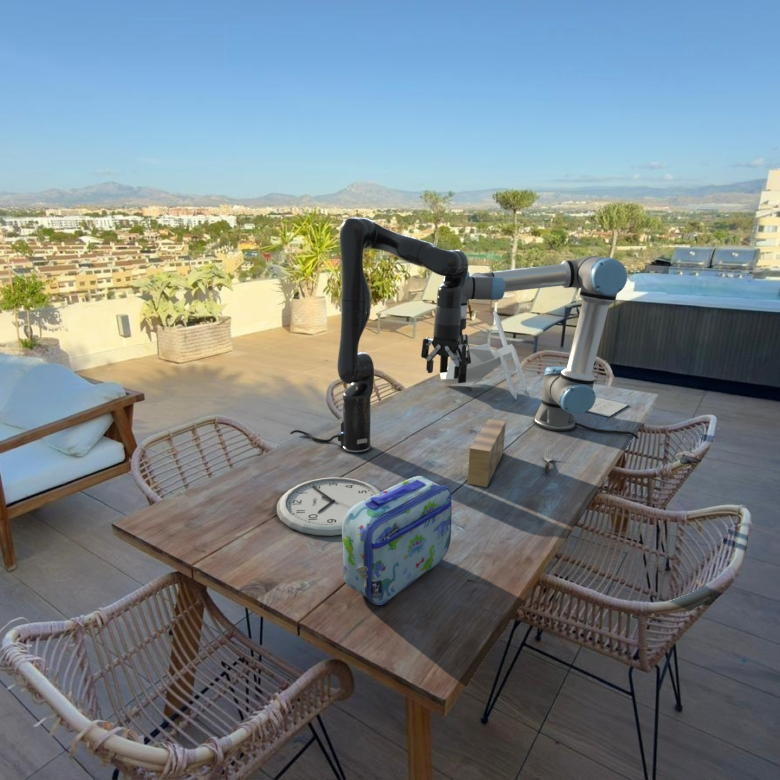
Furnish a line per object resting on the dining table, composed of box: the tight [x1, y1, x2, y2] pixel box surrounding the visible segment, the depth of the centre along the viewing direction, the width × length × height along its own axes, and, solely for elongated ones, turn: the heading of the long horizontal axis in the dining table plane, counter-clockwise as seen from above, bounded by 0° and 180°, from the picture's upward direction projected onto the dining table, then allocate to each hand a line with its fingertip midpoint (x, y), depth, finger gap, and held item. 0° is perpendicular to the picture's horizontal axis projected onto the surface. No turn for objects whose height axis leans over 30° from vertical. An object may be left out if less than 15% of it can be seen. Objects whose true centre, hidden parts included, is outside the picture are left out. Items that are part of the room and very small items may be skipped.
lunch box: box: [341, 475, 453, 606], centre depth 111 cm, size 26×11×21 cm, turn 134°
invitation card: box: [587, 396, 629, 418], centre depth 226 cm, size 21×1×15 cm
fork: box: [544, 449, 554, 474], centre depth 169 cm, size 3×16×2 cm, turn 160°
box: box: [466, 418, 507, 488], centre depth 165 cm, size 27×6×12 cm, turn 158°
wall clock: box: [276, 476, 382, 537], centre depth 142 cm, size 30×2×30 cm
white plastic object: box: [438, 310, 531, 400], centre depth 245 cm, size 37×45×31 cm
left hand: (443, 375), depth 156 cm, fingers open, 8 cm apart
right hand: (452, 377), depth 183 cm, fingers open, 13 cm apart
